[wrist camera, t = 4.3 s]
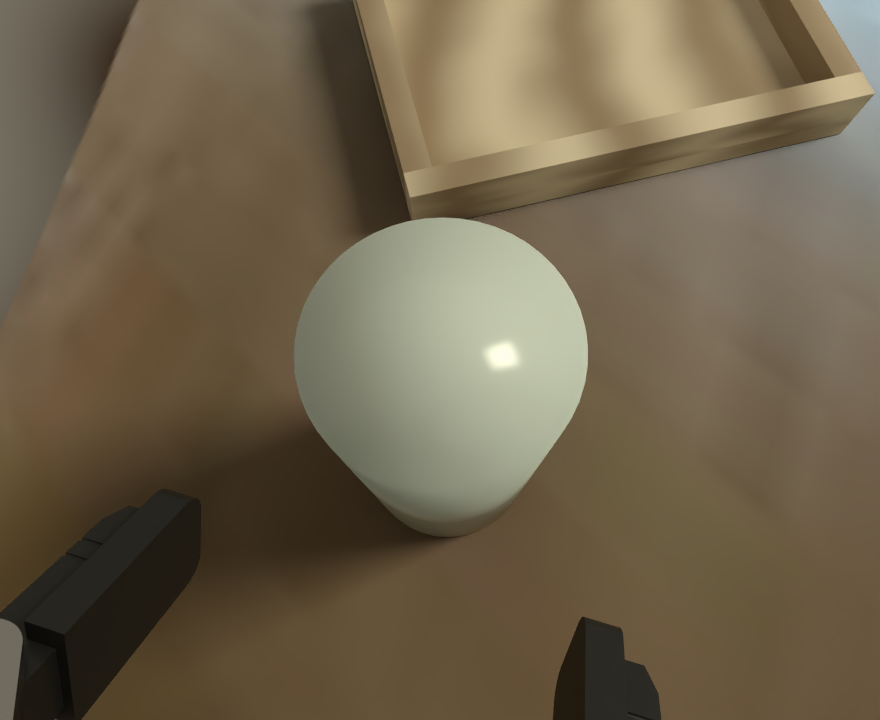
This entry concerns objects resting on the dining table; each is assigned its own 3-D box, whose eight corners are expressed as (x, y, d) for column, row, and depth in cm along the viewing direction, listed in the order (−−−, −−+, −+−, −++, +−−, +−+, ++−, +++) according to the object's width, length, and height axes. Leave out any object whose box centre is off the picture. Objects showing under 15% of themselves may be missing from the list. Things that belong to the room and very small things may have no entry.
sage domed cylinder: (501, 366, 25) (538, 191, 14) (545, 514, 23) (629, 450, 12) (355, 402, 25) (273, 252, 14) (387, 555, 23) (322, 527, 12)
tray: (721, -76, 33) (741, -126, 31) (840, 133, 29) (874, 93, 26) (352, -1, 32) (344, -47, 30) (413, 230, 27) (410, 197, 25)
